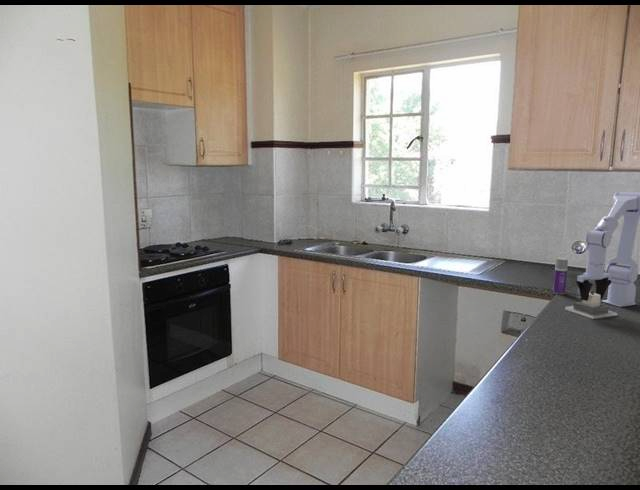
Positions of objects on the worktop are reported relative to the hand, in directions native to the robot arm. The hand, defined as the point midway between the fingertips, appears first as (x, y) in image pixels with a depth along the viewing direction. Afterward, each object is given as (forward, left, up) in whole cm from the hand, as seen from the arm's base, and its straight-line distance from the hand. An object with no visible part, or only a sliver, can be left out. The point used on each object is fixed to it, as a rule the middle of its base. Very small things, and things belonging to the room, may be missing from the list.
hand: (591, 299), depth 174 cm
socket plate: (0, 0, -5) cm, 5 cm away
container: (-12, -25, -5) cm, 28 cm away
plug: (0, 0, -4) cm, 4 cm away
